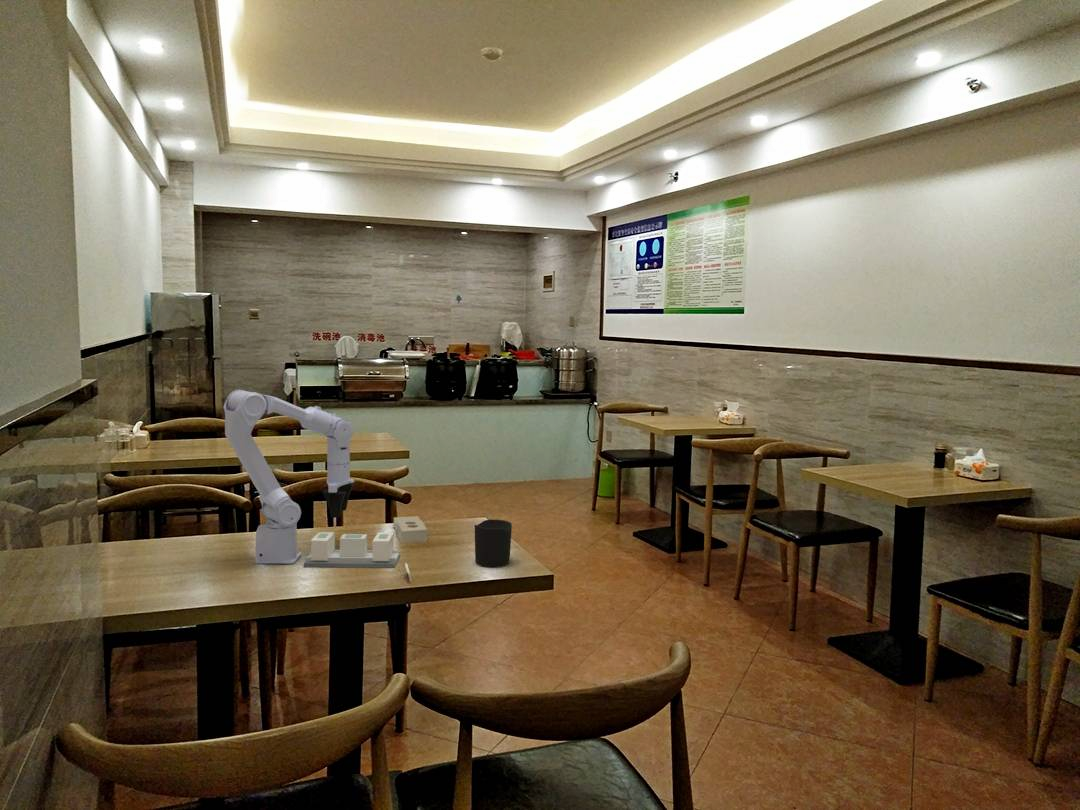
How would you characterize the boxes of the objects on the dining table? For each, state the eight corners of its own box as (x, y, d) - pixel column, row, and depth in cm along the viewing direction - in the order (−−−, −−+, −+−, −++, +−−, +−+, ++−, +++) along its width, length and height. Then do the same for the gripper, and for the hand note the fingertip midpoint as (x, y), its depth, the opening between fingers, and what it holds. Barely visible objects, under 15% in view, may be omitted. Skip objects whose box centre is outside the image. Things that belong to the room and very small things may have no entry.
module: (339, 558, 186) (339, 538, 185) (343, 553, 190) (343, 533, 189) (364, 558, 186) (364, 538, 185) (367, 553, 190) (367, 534, 189)
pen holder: (516, 566, 187) (517, 527, 186) (480, 570, 184) (481, 530, 183) (503, 555, 196) (504, 518, 195) (469, 559, 192) (469, 521, 191)
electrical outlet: (417, 513, 224) (427, 528, 207) (417, 526, 224) (427, 542, 207) (393, 514, 221) (401, 530, 204) (393, 527, 222) (401, 544, 205)
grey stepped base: (303, 567, 182) (303, 540, 182) (314, 554, 192) (313, 529, 192) (394, 567, 184) (394, 541, 183) (400, 555, 193) (400, 530, 193)
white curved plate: (395, 585, 172) (395, 572, 172) (392, 574, 180) (393, 562, 180) (411, 584, 173) (411, 572, 173) (408, 573, 181) (408, 561, 181)
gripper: (348, 468, 189) (348, 520, 191) (359, 458, 204) (359, 507, 205) (320, 467, 189) (320, 520, 190) (333, 458, 203) (333, 507, 205)
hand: (338, 513), depth 198 cm, fingers open, 7 cm apart
